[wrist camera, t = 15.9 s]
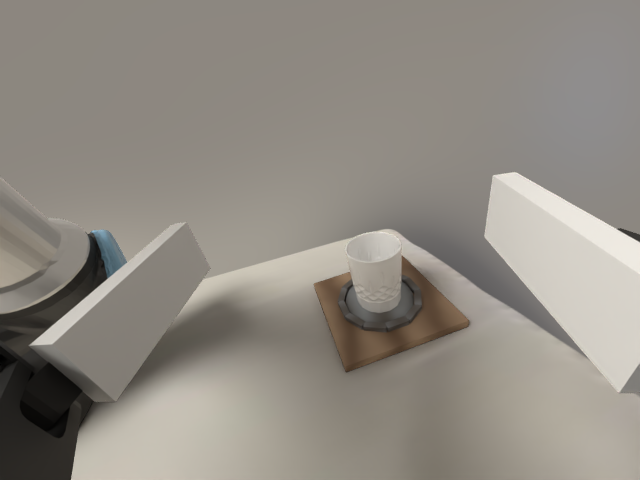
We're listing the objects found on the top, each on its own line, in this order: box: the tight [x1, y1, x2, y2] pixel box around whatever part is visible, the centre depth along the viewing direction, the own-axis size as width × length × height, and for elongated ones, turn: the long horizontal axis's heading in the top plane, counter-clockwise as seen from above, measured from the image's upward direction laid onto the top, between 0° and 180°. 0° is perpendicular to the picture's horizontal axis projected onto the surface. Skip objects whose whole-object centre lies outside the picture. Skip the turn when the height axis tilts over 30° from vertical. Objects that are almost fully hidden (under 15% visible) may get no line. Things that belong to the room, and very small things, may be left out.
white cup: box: [345, 232, 402, 313], centre depth 40 cm, size 8×8×10 cm
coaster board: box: [314, 256, 469, 372], centre depth 42 cm, size 18×18×2 cm
